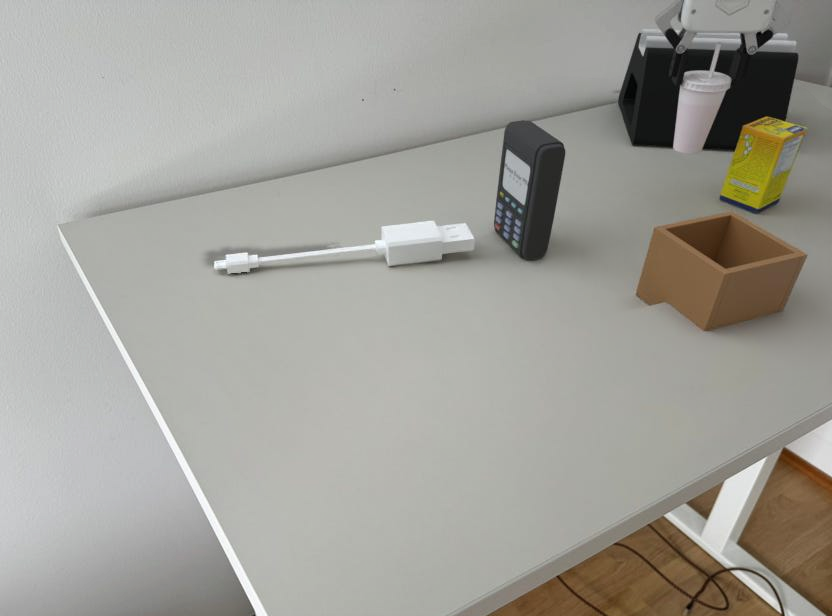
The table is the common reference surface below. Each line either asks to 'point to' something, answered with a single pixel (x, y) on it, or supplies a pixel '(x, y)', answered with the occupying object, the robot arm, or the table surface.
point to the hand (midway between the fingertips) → (704, 81)
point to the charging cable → (379, 247)
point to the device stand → (657, 94)
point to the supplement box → (761, 163)
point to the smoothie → (699, 106)
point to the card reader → (528, 188)
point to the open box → (719, 270)
